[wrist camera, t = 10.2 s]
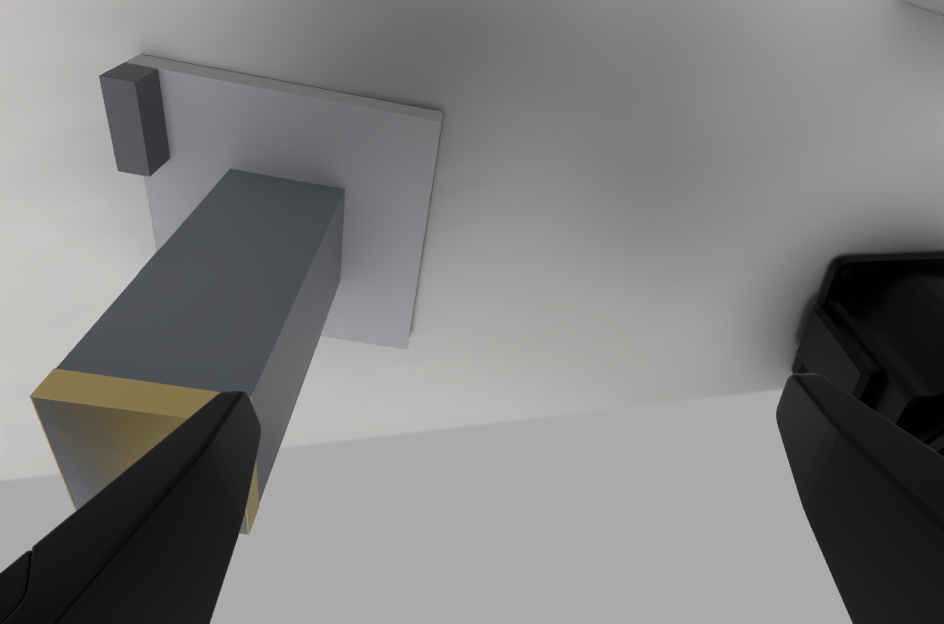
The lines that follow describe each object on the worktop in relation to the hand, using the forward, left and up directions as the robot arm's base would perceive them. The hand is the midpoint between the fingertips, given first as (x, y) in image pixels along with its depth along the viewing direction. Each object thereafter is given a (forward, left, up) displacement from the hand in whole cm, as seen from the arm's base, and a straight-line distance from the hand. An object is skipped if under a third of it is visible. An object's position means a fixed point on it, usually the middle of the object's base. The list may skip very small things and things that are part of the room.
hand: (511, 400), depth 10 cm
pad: (+8, +3, -13) cm, 16 cm away
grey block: (+8, +3, -12) cm, 15 cm away
